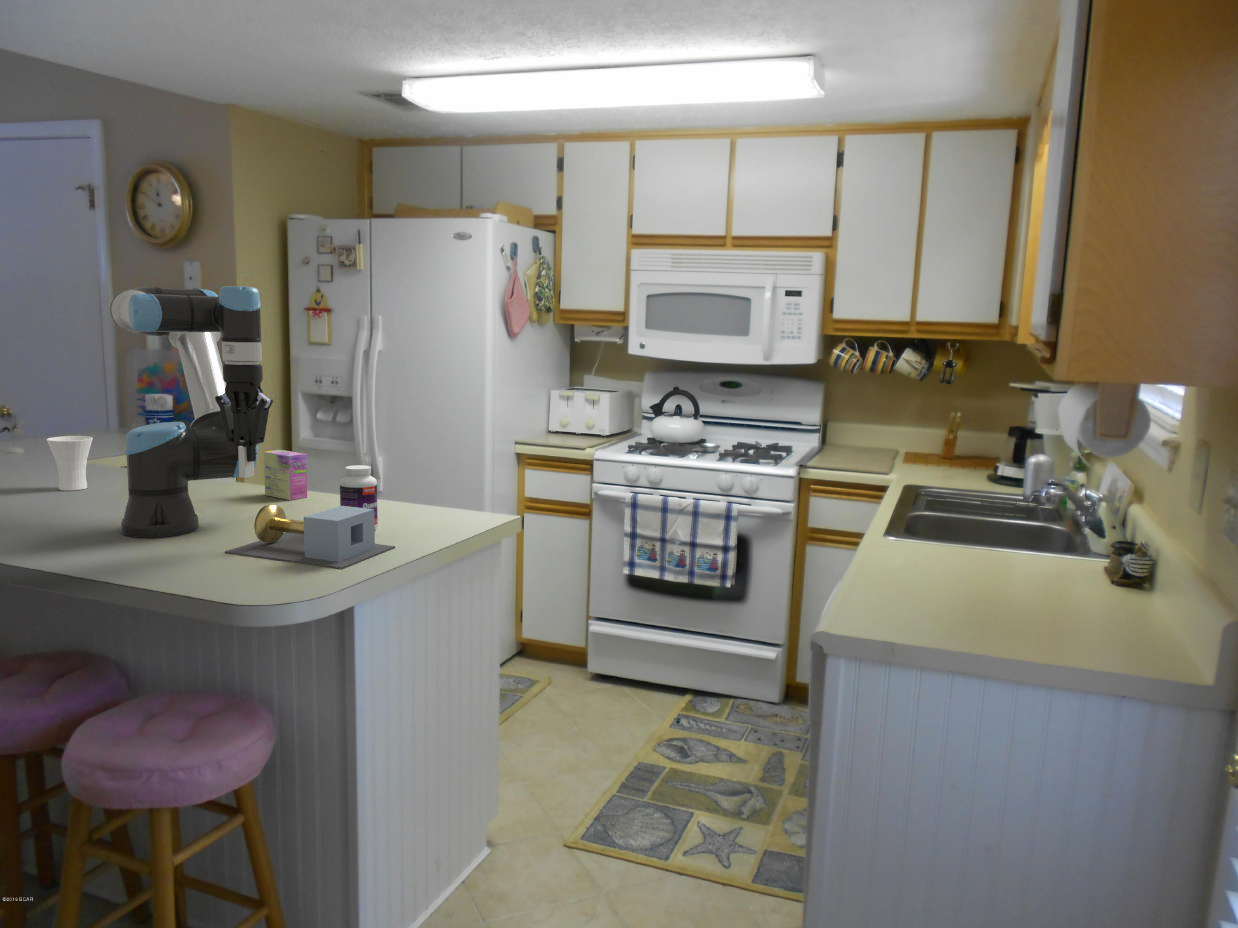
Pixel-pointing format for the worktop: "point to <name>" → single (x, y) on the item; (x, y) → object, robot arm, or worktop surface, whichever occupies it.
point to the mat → (300, 552)
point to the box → (285, 474)
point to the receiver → (339, 533)
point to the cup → (71, 460)
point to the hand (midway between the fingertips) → (247, 476)
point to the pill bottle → (359, 489)
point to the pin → (275, 524)
